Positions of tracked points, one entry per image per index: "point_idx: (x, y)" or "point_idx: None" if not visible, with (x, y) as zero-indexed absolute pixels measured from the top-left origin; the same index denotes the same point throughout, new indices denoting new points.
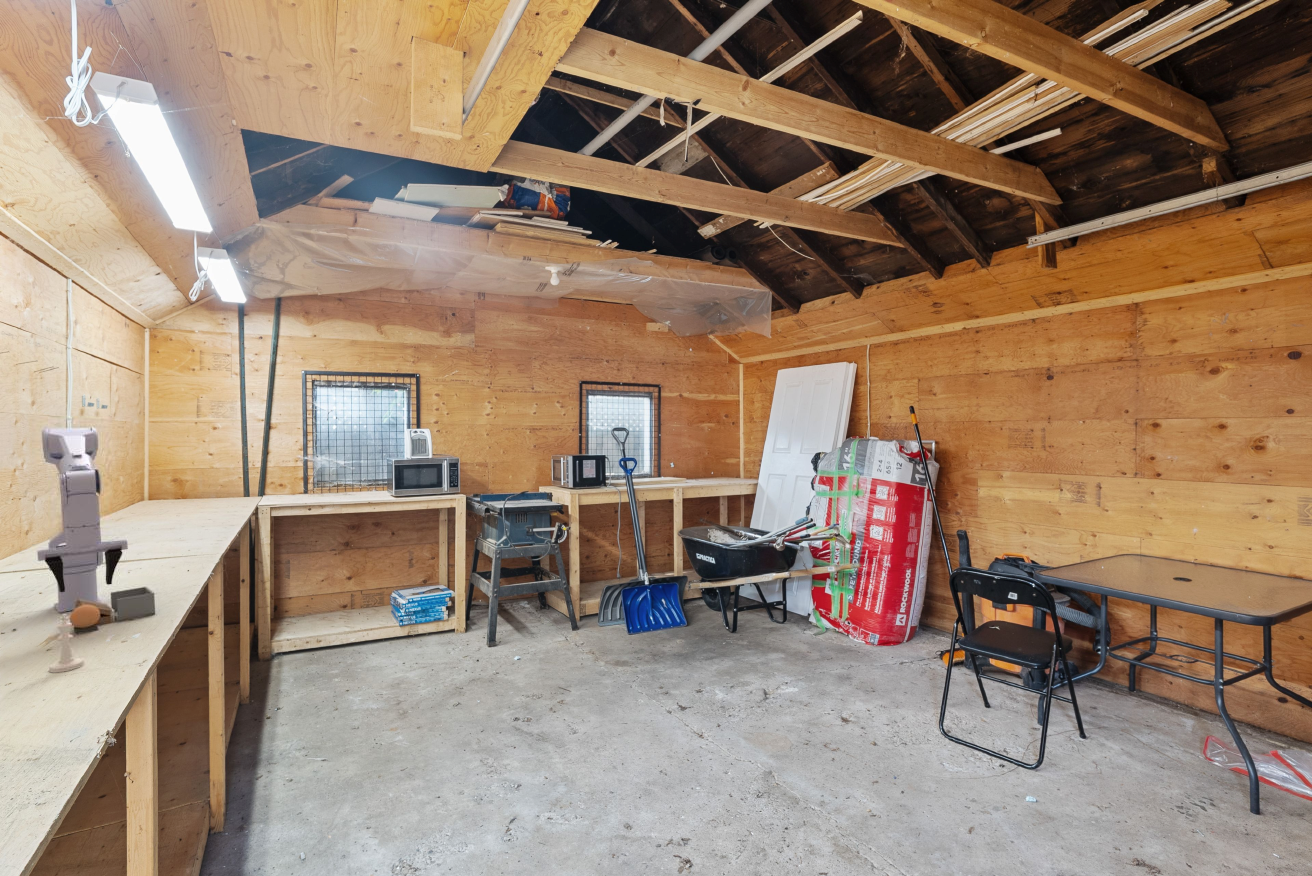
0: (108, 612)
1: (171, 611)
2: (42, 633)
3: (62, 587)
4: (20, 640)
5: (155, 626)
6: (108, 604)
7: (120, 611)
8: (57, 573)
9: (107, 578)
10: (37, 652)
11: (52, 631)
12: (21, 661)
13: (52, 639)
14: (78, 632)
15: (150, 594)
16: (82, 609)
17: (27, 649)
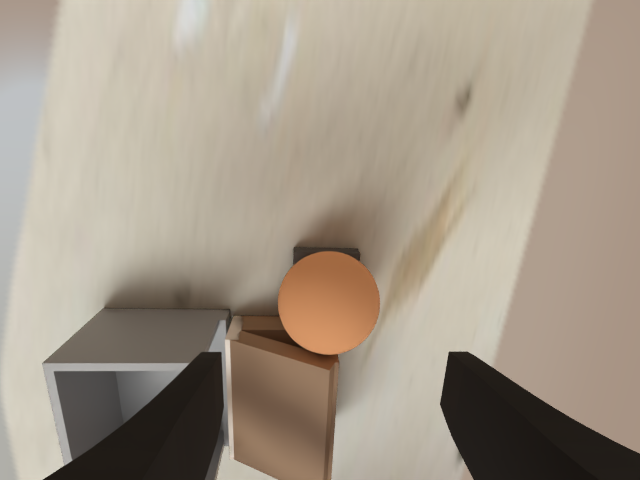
0: (245, 337)
1: (46, 300)
2: (424, 347)
3: (477, 364)
4: (485, 313)
5: (113, 101)
6: (229, 450)
7: (205, 329)
8: (598, 446)
9: (209, 387)
10: (497, 96)
11: (399, 347)
12: (563, 7)
13: (423, 242)
14: (350, 250)
15: (61, 360)
16: (345, 293)
17: (504, 174)
